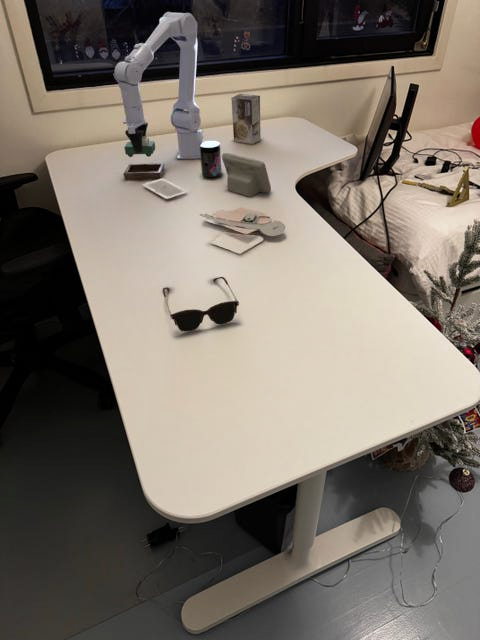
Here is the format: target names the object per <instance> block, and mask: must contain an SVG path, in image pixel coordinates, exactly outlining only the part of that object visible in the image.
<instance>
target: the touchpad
mask: <svg viewBox="0 0 480 640" xmlns="http://www.w3.org/2000/svg"><path fill="white" fill-rule="evenodd" d="M142 186H143V187H145V188H146V189H148V190H149V191H151V192H153V193H155V194H157V195H159V196H160V197H162V198H163V199H166V200H168V199H172V198H174V197H177V196H180V195H183V194H186V193H188V192H189V191H188V190H187V189H184V188H182V187H180V186H179V185H177V184H174V183H173V182H171V181H169V180H168V179H165V178H163V177H162V178H161V179H158V180H152V181H149V182H145V183H143V184H142Z"/></svg>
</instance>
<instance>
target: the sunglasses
mask: <svg viewBox="0 0 480 640" xmlns="http://www.w3.org/2000/svg"><path fill="white" fill-rule="evenodd" d="M220 279H221V280H223V281H224V284H225V285H226V286H227V287H228V289H229V291H230V292H231V295H232V296H233V298H234V300H230V301H223V302H220V303H217V304H214V305H212V306H211V307H209V308H208V309H207V310H201V309H195V308H194V309H185V310H181V311H176V312H174V313H172V312H171V310H170V307H169V303H168V301H167V295H166V291H168V292H169V291H170V288H169V287H168V286H167V287H163V288H162V295H163V297H164V300H165V303H166V306H167V310H168V313H169V316H170V320H173V322H174V325H175V327H177V328H178V330H179V331H181V332H186V333H188V332H192V331H193V332H194V331H196V330H197V329H199V327H200V326H201V324H203V321H204V317H205V316H208V318H209V319H210V321H212V322H213V323H214V324H216V325H218V326H219V325H220V326H221V325H225V324H228V323H230V322H232V321H233V320H234V318H235V315H236V314H237V311H238V306H239V305H240V301H239V300H238V299H237V297H236V296H235V293H234V292H233V290H232V289H231V286H230V284H229V282H228V280H227V279H226V278H225V277H224V276H218V277H215V278H213V279H212V281H213V282H214V283H216V282H217V281H218V280H220ZM165 290H166V291H165Z"/></svg>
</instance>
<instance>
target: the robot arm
mask: <svg viewBox="0 0 480 640" xmlns="http://www.w3.org/2000/svg"><path fill="white" fill-rule="evenodd" d="M197 35H198V21H196V19H195V17H194V16H193V14H192V13H190V12H185V13H183V12H171V11H167V12H165V13H164V14H163V15H162V17H160V18H159V23H158V25H157V26H156V27H155V29H154V30H153V31H152V33H151V35H150V36H149V37H148V38H147V39H146V41H145V43H143V42H141V43H135V45H134V46H133V50H132V51H131V52H130V53H129V54H128V55H126V56H125V57H124V61H119V62H118V63H117V64H116V65H115V67H114V73H113V77H114V79H115V80H116V82H117V83H118V88H120V94H121V99H122V104H123V111H124V115H125V119H123V121H122V124H123V125H126V126H127V129H126V130H125V131H124V133H125V136H126V137H127V138H128V140H129V142H131V143H132V146H133V148H134V150H135V153H142V136H147V131H148V126H149V122H146V118H145V114H144V108H143V101H142V94H141V89H140V82H142V77H143V73H144V71H145V70H146V69H147V67H148V66H149V65H150V64H151V63H152V62H153V61H154V54H155V52H156V51H157V50H158V49H160V47H161V46H162V45H163V44H164V43H165V42H167V40H168V39H169V38H171V39H172V40H173V41H174V42H176V44H177V45H178V47H179V49H180V53H179V54H180V55H179V75H178V76H179V77H178V95H177V97H178V99H177V100H176V102H175V103H174V104H173V105H172V111H171V114H170V123H171V125H172V126H173V128H174V130H175V131H176V136H177V143H178V144H177V146H178V154H177V157H176V158H177V160H193V159H194V160H196V159H198V160H199V159H201V158H200V148H199V144H200V143H201V142H204V141H205V137H204V130H202V129H200V128H201V123H202V121H201V115H200V113H201V112H200V111H201V109H200V107H199V106H198V105H197V103H196V102H195V94H196V93H195V92H196V77H197V76H196V75H197V61H198V57H197V56H198V37H197Z"/></svg>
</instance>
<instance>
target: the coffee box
mask: <svg viewBox="0 0 480 640" xmlns="http://www.w3.org/2000/svg"><path fill="white" fill-rule="evenodd" d="M230 98H231V113H232V115H231V116H232V133H233V135H232V136H233V142H236V143H243V144H251V145H254V144H256V143H257V142H259V141H261V140H262V139H261V95H256V94H248V93H238V94H236V95H234V96H233V97H232V96H231V97H230Z"/></svg>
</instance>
